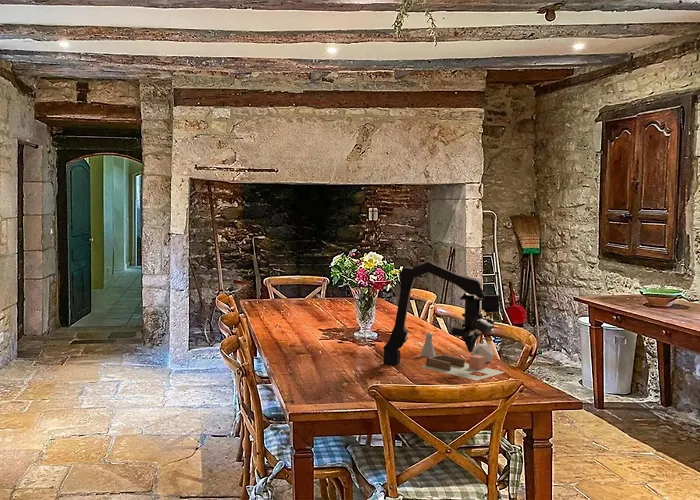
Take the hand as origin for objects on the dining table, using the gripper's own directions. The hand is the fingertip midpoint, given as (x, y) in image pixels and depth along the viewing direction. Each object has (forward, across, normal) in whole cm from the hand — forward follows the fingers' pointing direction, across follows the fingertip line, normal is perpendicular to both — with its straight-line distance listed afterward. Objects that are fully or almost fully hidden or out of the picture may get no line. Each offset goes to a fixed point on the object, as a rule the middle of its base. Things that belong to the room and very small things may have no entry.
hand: (470, 351), depth 269 cm
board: (+8, -3, +2) cm, 9 cm away
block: (+7, +4, -1) cm, 8 cm away
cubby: (+7, -4, +9) cm, 12 cm away
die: (+8, +16, +6) cm, 19 cm away
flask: (+8, +6, +26) cm, 28 cm away
